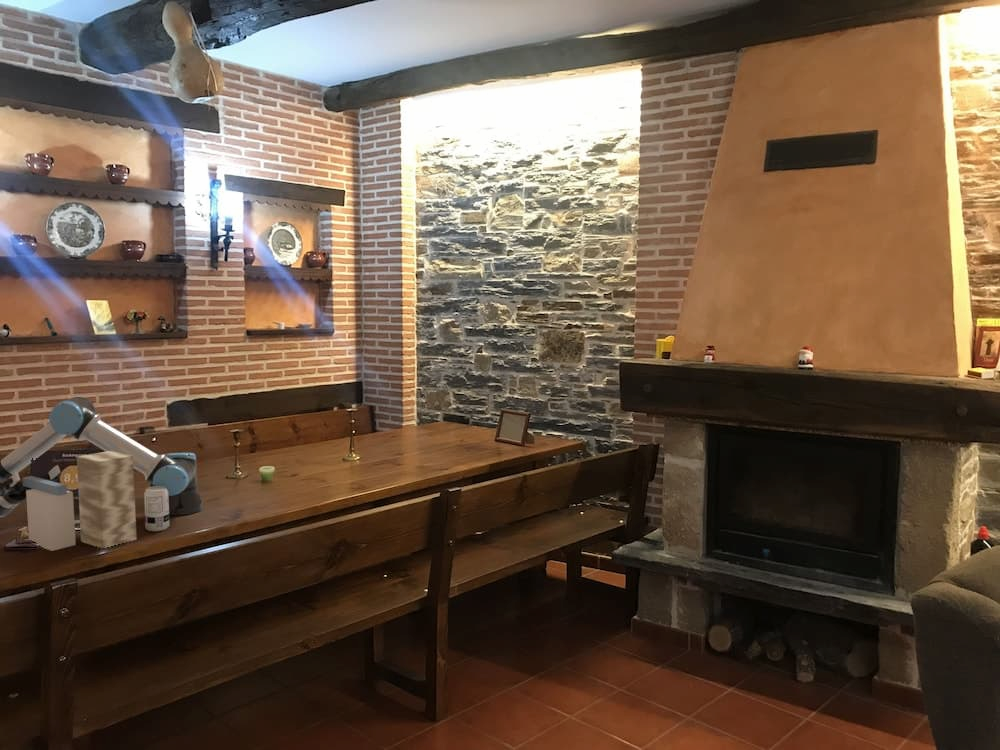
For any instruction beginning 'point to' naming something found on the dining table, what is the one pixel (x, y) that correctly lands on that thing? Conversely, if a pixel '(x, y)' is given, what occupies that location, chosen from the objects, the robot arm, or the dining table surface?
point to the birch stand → (106, 498)
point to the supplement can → (156, 508)
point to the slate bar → (45, 485)
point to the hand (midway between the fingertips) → (38, 472)
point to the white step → (51, 519)
